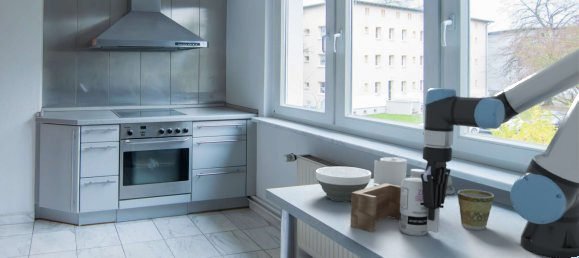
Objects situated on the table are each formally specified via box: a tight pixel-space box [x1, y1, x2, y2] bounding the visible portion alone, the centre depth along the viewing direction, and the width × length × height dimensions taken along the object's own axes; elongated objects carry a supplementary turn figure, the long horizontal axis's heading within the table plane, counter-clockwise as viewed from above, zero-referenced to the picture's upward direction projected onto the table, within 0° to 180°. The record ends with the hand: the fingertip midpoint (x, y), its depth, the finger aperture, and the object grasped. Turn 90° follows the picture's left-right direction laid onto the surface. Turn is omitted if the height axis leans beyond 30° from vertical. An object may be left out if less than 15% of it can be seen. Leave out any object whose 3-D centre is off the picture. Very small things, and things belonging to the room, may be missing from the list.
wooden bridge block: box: [349, 183, 401, 233], centre depth 147 cm, size 8×18×10 cm, turn 137°
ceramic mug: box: [446, 174, 456, 196], centre depth 188 cm, size 11×8×8 cm
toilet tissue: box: [373, 156, 408, 186], centre depth 200 cm, size 11×12×10 cm
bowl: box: [315, 166, 372, 202], centre depth 176 cm, size 20×20×10 cm
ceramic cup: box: [457, 188, 495, 231], centre depth 146 cm, size 13×10×10 cm
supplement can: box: [398, 176, 430, 237], centre depth 139 cm, size 8×8×15 cm
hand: (432, 230), depth 136 cm, fingers closed
